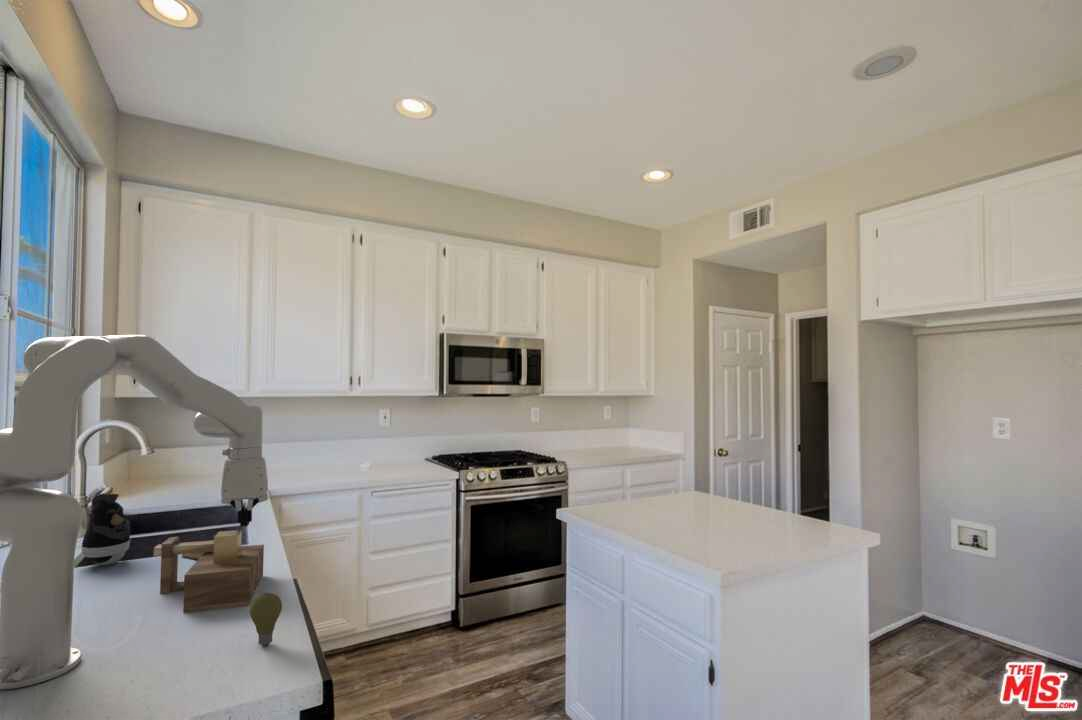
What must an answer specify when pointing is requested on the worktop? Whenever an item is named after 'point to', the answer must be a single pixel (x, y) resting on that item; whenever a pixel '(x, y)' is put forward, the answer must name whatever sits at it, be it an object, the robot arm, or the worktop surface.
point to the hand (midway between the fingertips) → (244, 524)
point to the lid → (226, 558)
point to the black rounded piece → (106, 531)
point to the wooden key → (188, 548)
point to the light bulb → (265, 615)
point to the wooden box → (208, 584)
